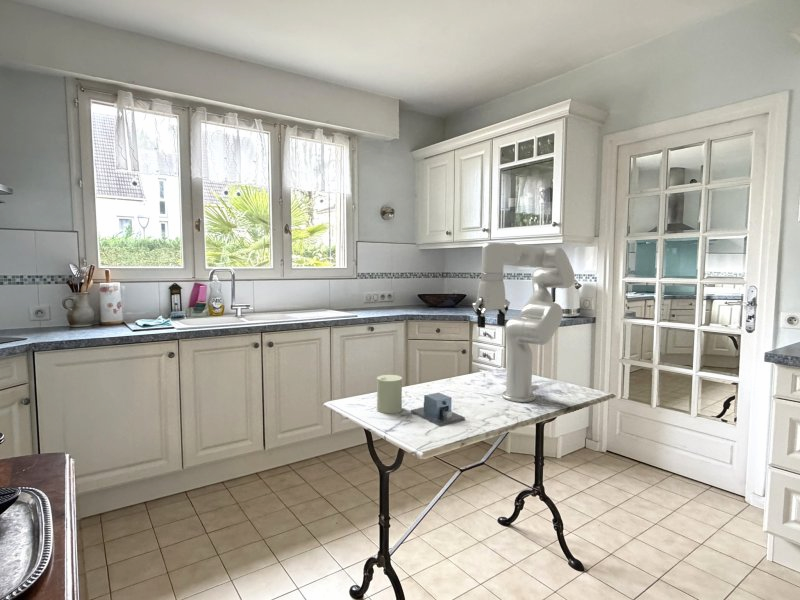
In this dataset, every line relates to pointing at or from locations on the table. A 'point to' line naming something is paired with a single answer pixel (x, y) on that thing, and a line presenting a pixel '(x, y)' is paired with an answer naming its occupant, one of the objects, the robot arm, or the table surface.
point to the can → (389, 393)
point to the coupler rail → (444, 416)
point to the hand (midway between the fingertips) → (491, 326)
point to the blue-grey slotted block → (436, 403)
